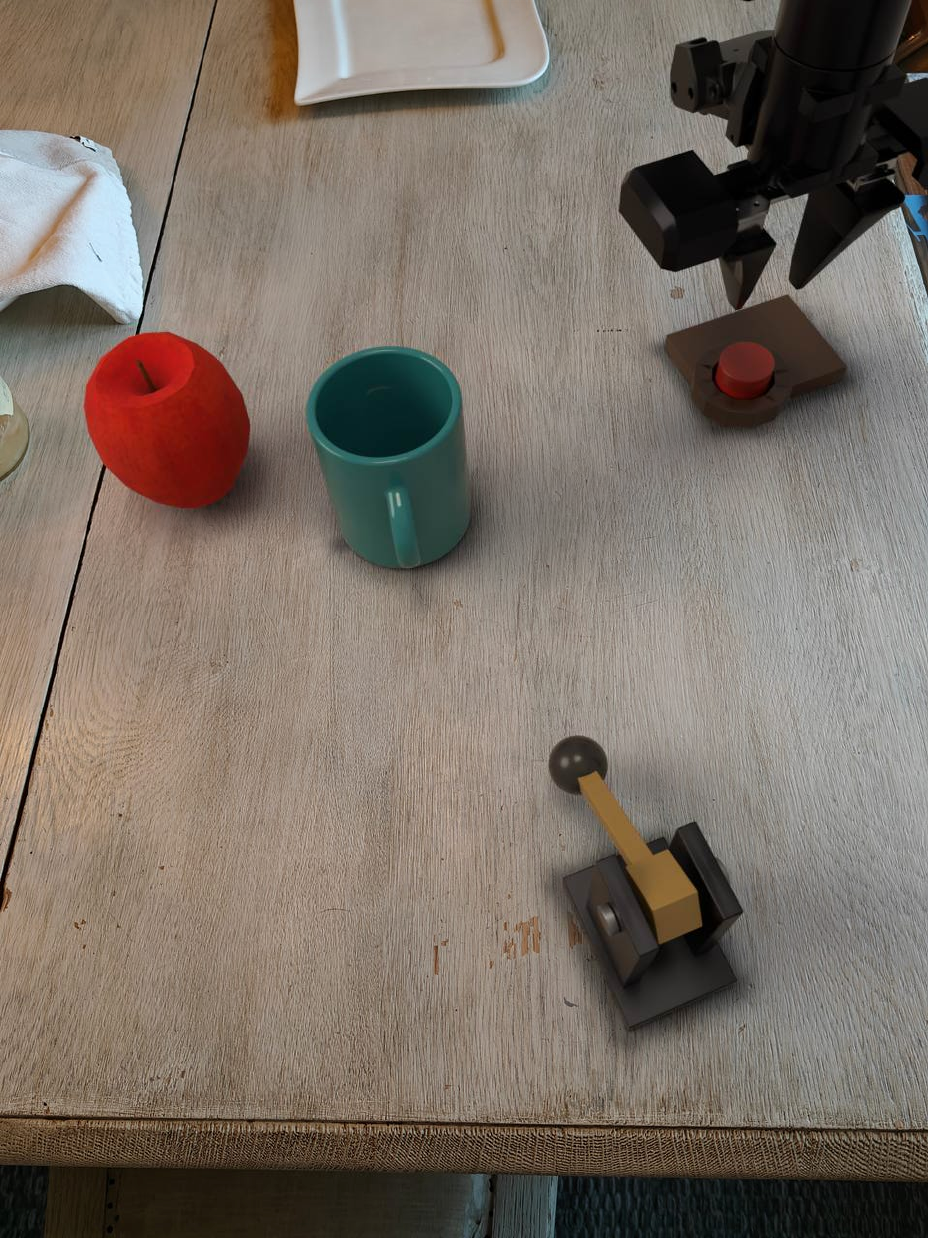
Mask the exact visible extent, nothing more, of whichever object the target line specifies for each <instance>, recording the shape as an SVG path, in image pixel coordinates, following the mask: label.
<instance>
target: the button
mask: <svg viewBox="0 0 928 1238" xmlns="http://www.w3.org/2000/svg"><path fill="white" fill-rule="evenodd" d="M774 366H775V362H774V358H773V356H772V354H771V353H770V352H769V351H768V350H767V349H766V348H764V347H763V346H761V345H758V344H755V343H751V342H739V343H735V344H732V345H730V346H728V347H727V348H726V349H725V350H724V351H723V352H722V353H721V355H720V359H719V363H718V367H717V372H716V383H717V385H718V387H719V388H720V390H721V391H722V392H724V393H725V394H727V395H728V396H731V397H733V398H737V399H752V398H756V397H758V396H760V395H761V394H763V393H764V392H765V391H766V390H767V388H768V386H769V383H770V380H771V376H772V373H773V370H774Z"/></svg>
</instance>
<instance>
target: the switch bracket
mask: <svg viewBox="0 0 928 1238" xmlns="http://www.w3.org/2000/svg"><path fill="white" fill-rule="evenodd" d="M645 844H646V845H647V846H648V848H649V849H650V851H651V852H652V854H653V855H655V854H658V853H660V852H662V851H665V850H667V849H668V850H669V851H670V852H671V854H672V855H673V857H674V858H675V860H676V861H677V863H678V864H679V865H680V867H681V868H682V870H683V871H684V873H685V874H686V875H687V877H688V878H689V880H690V881H691V883H692V884H693V885H694V887H695V888H696V890H697V891H698V898H699V905H700V912H701V919H702V927H699V928H697V929H695V930H692V931H690V932H688V933H685V934H683V935H681V936H678V937H676V938H674V939H671V940H669V941H667V942H664V943H662V944H658V942H657V940H656V938H655V936H654V933H653V931H652V929H651V927H650V925H649V923H648V921H647V919H646V917H645V915H644V913H643V910H642V908H641V906H640V904H639V902H638V900H637V898H636V896H635V894H634V892H633V889H632V887H631V885H630V883H629V881H628V877H627V872H626V866H628V865H627V864H626V862H625V861H624V859H623V857H622V856H621V854H620V853H619V854H616V853H614V854H611V855H608V856H606V857H604V858H602V859H601V858H600V859H598V860H596V861H595V864H593V865H590V866H588V867H586V868H583V869H581V870H578V871H576V872H574V873H571V874H569V875H566V876H564V877H563V878H562V886H563V888H564V891H565V893H566V896H567V898H568V900H569V903H570V904H571V906H572V909H573V911H574V913H575V916H576V918H577V920H578V923H579V925H580V927H581V929H582V932H583V934H584V937H585V939H586V941H587V943H588V945H589V949H590V950H591V952H592V954H593V956H594V960H595V961H596V963H597V966H598V968H599V970H600V972H601V975H602V977H603V979H604V981H605V984H606V986H607V989H608V990H609V993H610V996H611V998H612V1000H613V1002H614V1004H615V1007H616V1009H617V1011H618V1013H619V1016H620V1017H621V1020H622V1022H623V1025H624V1027H625V1030H626V1031H627V1032H630V1031H633V1030H634V1029H636V1028H638V1027H640V1026H643V1025H645V1024H647V1023H651V1022H653V1021H655V1020H657V1019H659V1018H661V1017H663V1016H666V1015H668V1014H671V1013H672V1012H675V1011H677V1010H680V1009H682V1008H684V1007H686V1006H689V1005H691V1004H693V1003H695V1002H698V1001H700V1000H702V999H704V998H707V997H710V996H712V995H714V994H716V993H719V992H721V991H723V990H725V989H727V988H730V987H732V986H734V985H735V984H736V983H738V978H737V976H736V974H735V973H734V970H733V968H732V967H731V965H730V963H729V960H728V958H727V957H726V955H725V953H724V950H723V949H722V947H721V944H720V942H719V941H720V940H721V939H722V938H723V937H724V935H725V934H726V933H727V932H728V931H729V930H730V929H731V928H732V926H733V925H734V924H735V923H736V922H737V921H738V919H739V918H740V917H741V916H742V915H743V914H744V909H743V907H742V906H741V903H740V901H739V899H738V898H737V895H736V894H735V892H734V890H733V888H732V886H731V879H730V875H729V872H728V870H727V868H726V866H725V864H724V863H723V862H722V860H721V859H720V858H719V857H717V856H715V854H714V852H713V850H712V848H711V847H710V845H709V843H708V841H707V839H706V837H705V836H704V834H703V832H702V829H701V827H700V826H699V824H698V822H697V821H696V820H695V821H691V822H688V823H685V824H684V825H681V826H679V827H677V828H676V829H675V832H674V834H673V837H672V839H671V841H670V843H668V841H667V839H666V837H665V836H660V837H658V838H656V839H653V840H651V841H648V842H647V843H646V842H645Z"/></svg>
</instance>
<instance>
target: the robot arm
mask: <svg viewBox="0 0 928 1238" xmlns="http://www.w3.org/2000/svg"><path fill="white" fill-rule="evenodd" d="M741 1H742V2H747V3H748V2H752V1H754V0H741ZM912 2H913V0H780V2H779V5H778V9H777V15H776V19H775V23H774V28H773V29H766V30H758V31H753V32H750V33H747V34H744V35H740V36H737V37H734V38H730V39H726V40H723V41H720V42H719V41H718V40H716V39H712V40H708V38H707V37H705V36H700V37H697V38H694V39H691V40H686V41H683V42H679V43H677V44H675V46H674V51H673V56H672V61H671V67H670V70H669V71H670V72H669V89H670V91H669V92H670V99H671V101H672V104H673V105H674V106H675V107H676V108H678V109H680V110H683V111H686V112H688V113H691V114H696V113H698V114H700V115H702V116H704V117H705V116H708V115H711V116H715V117H717V118H720V119H723V120H725V121H727V124H726V128H725V134H724V137H725V138H726V139H727V140H728V141H729V142H730V143H731V144H732V145H733V147H734V148H740V147H744V148H745V149H746V150H747V154H746V158H745V159H742V160H739V161H735V162H733V163H730V164H727V166H726V169H725V171H723V172H720V173H717V174H714V173H713V172H712V171H711V169H710V168H709V167H708V166H707V164H705V163H704V161H703V160H702V159H701V157H700V156H699V155H698V154H697V153H696V152H695V150H694V149H690V150H687V151H683V152H680V153H678V154H673V155H670V156H667V157H664V158H661V159H658V160H655V161H651V162H648V163H645V164H641V165H639V166H635V167H633V168H631V169H630V170H629V171H627V172H625V175H624V177H623V179H622V182H621V184H620V194H619V205H618V206H619V207H618V212H619V214H620V215H621V217H622V218H623V219H624V221H625V222H626V223H627V225H628V227H630V229H631V230H632V231H633V233H634V234H635V235H636V237H637V238H638V239H639V241H640V243H641V244H642V245H643V247H644V248H645V249H646V251H647V252H648V253H649V255H650V256H651V257H652V259H653V260H654V261H655V263H656V264H657V265H658V267H659V269H661V270H665V271H668V272H671V273H672V272H673V273H679V272H681V271H684V270H687V269H690V268H693V267H696V266H700V265H702V264H705V263H709V262H712V261H714V260H715V261H716V260H717V259H718V262H719V267H720V271H721V276H722V280H723V281H722V282H723V285H724V289H725V295H726V299H727V301H728V303H729V305H730V306H731V307H732V308H733V309H734V311H739V310H742V309H743V308H744V306H745V305H746V303H747V302H748V300H749V299H750V298H751V296H752V294H753V292H754V290H755V288H756V286H757V284H758V282H759V280H760V278H761V277H762V274H763V272H764V270H765V269H766V266H767V265H768V263H769V261H770V259H771V258H772V255H773V253H774V251H775V249H776V247H777V241H776V240H775V239H774V238H773V237H772V236H771V234H770V233H769V232H768V231H767V229H765V228H764V225H765V221H766V217H767V216H768V214H769V211H770V209H771V206H772V205H774V204H777V203H780V202H784V201H787V200H790V199H791V200H793V199H795V198H798V197H803V196H805V195H807V200H806V202H805V207H804V211H803V214H802V218H801V222H800V226H799V229H798V233H797V236H796V240H795V244H794V248H793V251H792V255H791V259H790V265H789V271H788V282H789V283H790V285H791V286H792V287H793V288H794V289H795V291H800V290H802V289H804V288H805V287H806V286H807V285H808V284H810V282H812V280H813V279H815V278H816V277H817V276H818V275H819V274H820V273H821V272H822V271H823V270H825V269H826V268H827V267H828V266H829V265H830V264H831V263H832V262H833V261H835V259H836V258H837V257H839V256H840V255H841V254H842V253H843V252H844V251H845V250H846V249H848V247H850V246H851V245H852V244H853V243H854V242H856V241H857V240H858V239H859V238H861V236H863V235H864V234H865V233H866V232H867V231H868V230H870V229H871V228H872V227H873V226H875V225H876V224H877V223H878V222H879V221H880V220H882V219H883V218H884V217H885V216H887V215H888V214H890V212H892V211H896V210H898V209H900V208H901V207H902V206H903V205H904V203H905V200H906V194H905V193H904V191H902V190H901V188H899V186H897V184H895V182H894V181H893V180H894V177H895V175H896V171H895V170H894V168H895V167H896V164H897V161H898V159H899V156H902V155H905V154H908V153H909V154H911V156H912V157H914V158H915V160H916V163H915V165H914V167H913V170H912V173H911V175H910V176H911V177H912V179H914V181H915V182H916V183H917V184H918V185H919V187H921V188H922V190H923V191H928V77H927V76H925V77H922V78H919V79H915V80H912V81H909V82H906V80H907V77H908V75H907V74H906V73H905V72H904V71H903V70H902V69H900V68H899V66H897V65H896V64H895V63H894V62H893V60H894V57H895V53H896V51H897V47H898V44H899V40H900V38H901V34H902V32H903V29H904V26H905V23H906V20H907V16H908V14H909V10H910V8H911V4H912Z"/></svg>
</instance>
